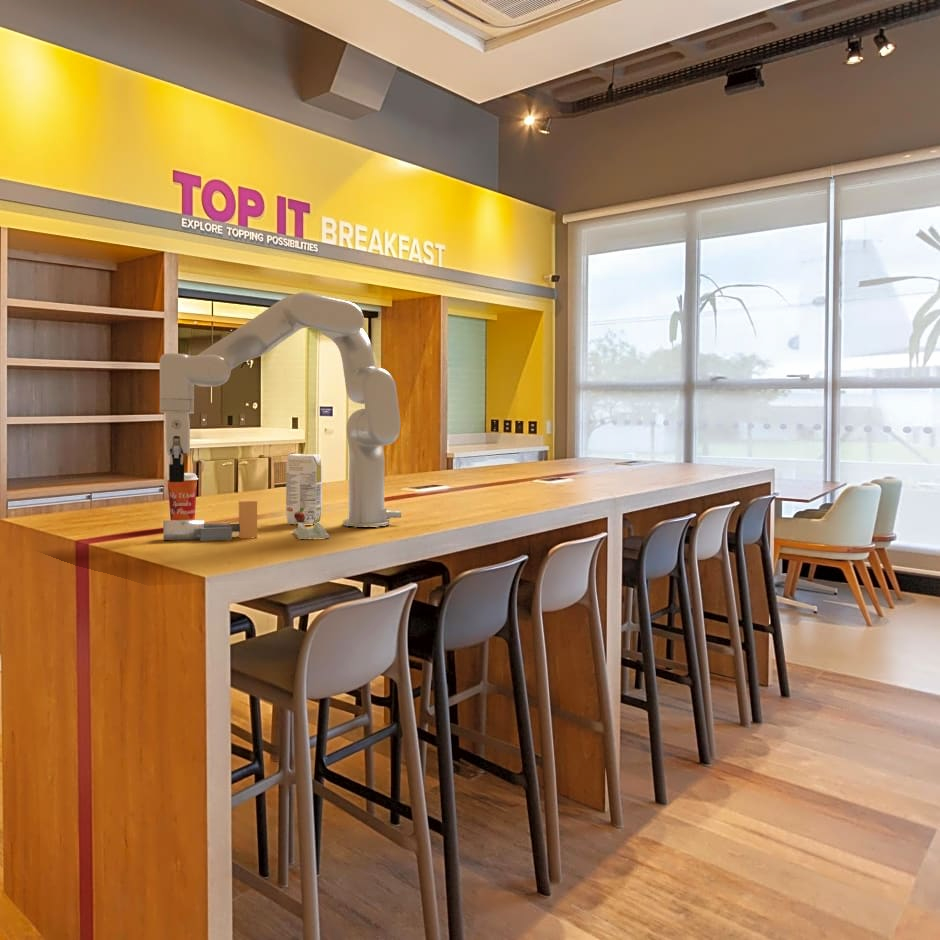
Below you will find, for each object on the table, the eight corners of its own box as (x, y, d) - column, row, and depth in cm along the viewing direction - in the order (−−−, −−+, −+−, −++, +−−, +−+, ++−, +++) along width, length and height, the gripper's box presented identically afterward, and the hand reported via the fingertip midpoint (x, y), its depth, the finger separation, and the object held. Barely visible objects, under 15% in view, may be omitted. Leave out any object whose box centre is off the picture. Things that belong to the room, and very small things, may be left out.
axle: (203, 535, 191) (203, 516, 189) (204, 542, 187) (204, 523, 185) (164, 536, 188) (163, 517, 186) (163, 544, 184) (163, 524, 182)
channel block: (230, 534, 194) (230, 522, 194) (231, 540, 187) (231, 527, 187) (200, 535, 192) (200, 523, 192) (200, 541, 185) (200, 528, 184)
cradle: (321, 531, 202) (321, 522, 202) (329, 538, 192) (329, 529, 191) (294, 532, 200) (294, 523, 199) (299, 540, 189) (299, 530, 189)
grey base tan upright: (255, 535, 195) (255, 499, 194) (257, 538, 191) (257, 501, 190) (204, 537, 191) (204, 500, 190) (204, 540, 187) (204, 502, 186)
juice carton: (313, 526, 211) (313, 455, 209) (283, 524, 212) (283, 454, 211) (324, 522, 218) (324, 453, 216) (295, 521, 220) (295, 452, 218)
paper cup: (165, 530, 199) (164, 475, 198) (168, 525, 206) (167, 472, 205) (198, 529, 201) (197, 475, 200) (199, 525, 209) (199, 472, 207)
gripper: (194, 407, 177) (194, 483, 179) (193, 407, 193) (193, 476, 195) (158, 406, 175) (158, 483, 176) (160, 406, 191) (161, 476, 192)
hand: (176, 479), depth 185 cm, fingers open, 9 cm apart
